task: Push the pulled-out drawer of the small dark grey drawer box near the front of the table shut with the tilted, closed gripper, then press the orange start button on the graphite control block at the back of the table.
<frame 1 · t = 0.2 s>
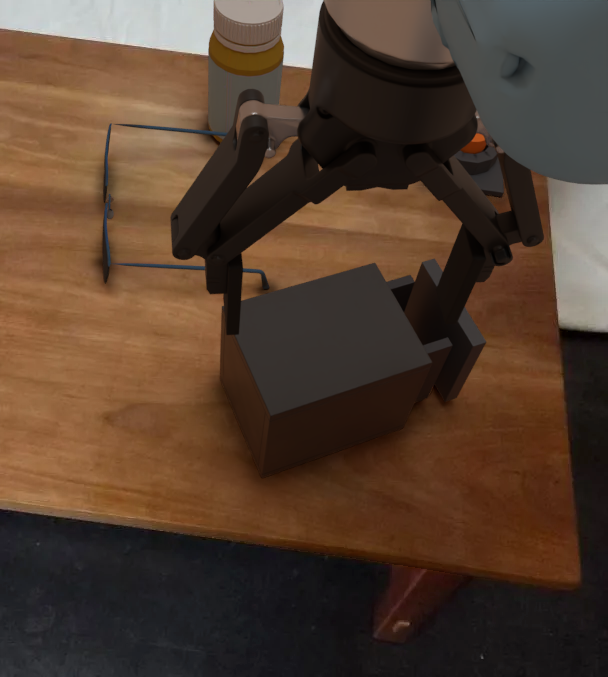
hand: (340, 311, 51), 18 cm above the table, tool pointing down, fingers open, 13 cm apart
sunglasses: (183, 221, 78), on the table
bottle: (242, 131, 85), on the table
dark grey drawer box: (310, 403, 68), on the table
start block: (462, 156, 86), on the table
start button: (470, 135, 84), point 3 cm above the table, slide at 0.1 cm
pulled-out drawer: (390, 347, 66), point 5 cm above the table, slide at 4.0 cm
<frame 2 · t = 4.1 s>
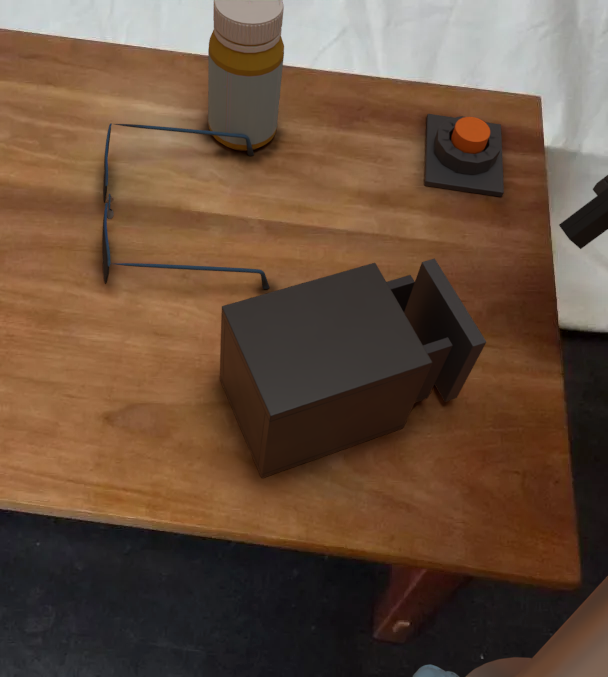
hand: (570, 237, 63), 14 cm above the table, tool tilted 45°, fingers closed
nothing on the table moved.
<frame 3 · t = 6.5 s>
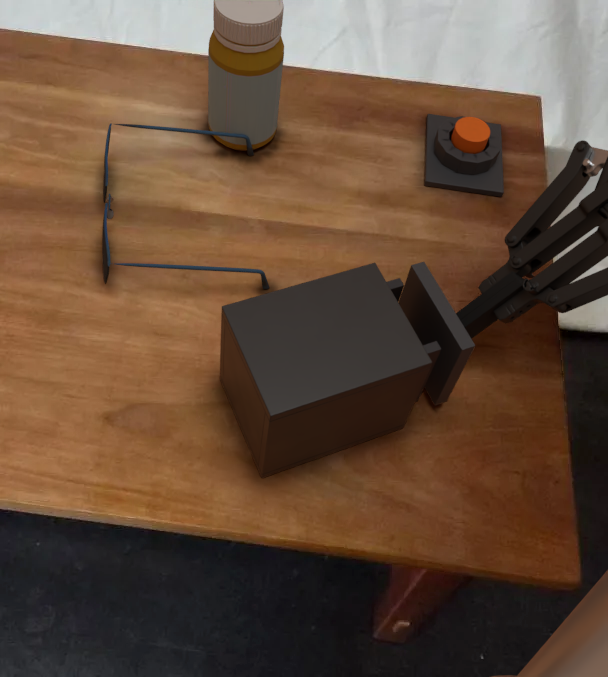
hand: (459, 329, 68), 5 cm above the table, tool tilted 45°, fingers closed
pulled-out drawer: (379, 351, 66), point 5 cm above the table, slide at 3.0 cm, touching gripper
everything else where it was.
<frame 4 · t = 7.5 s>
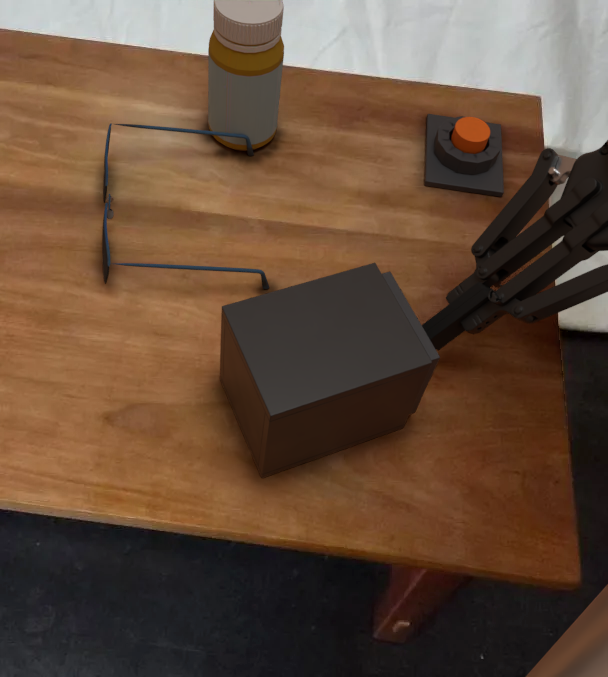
hand: (427, 340, 68), 5 cm above the table, tool tilted 45°, fingers closed
pulled-out drawer: (345, 362, 65), point 5 cm above the table, slide at 0.0 cm, touching dark grey drawer box, gripper
everything else where it was.
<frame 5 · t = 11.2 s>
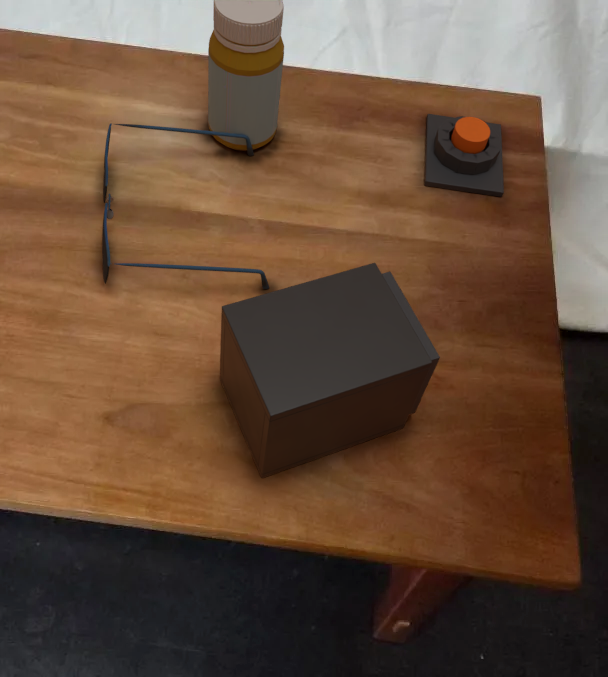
pulled-out drawer: (345, 362, 65), point 5 cm above the table, slide at 0.0 cm, touching dark grey drawer box
everything else where it was.
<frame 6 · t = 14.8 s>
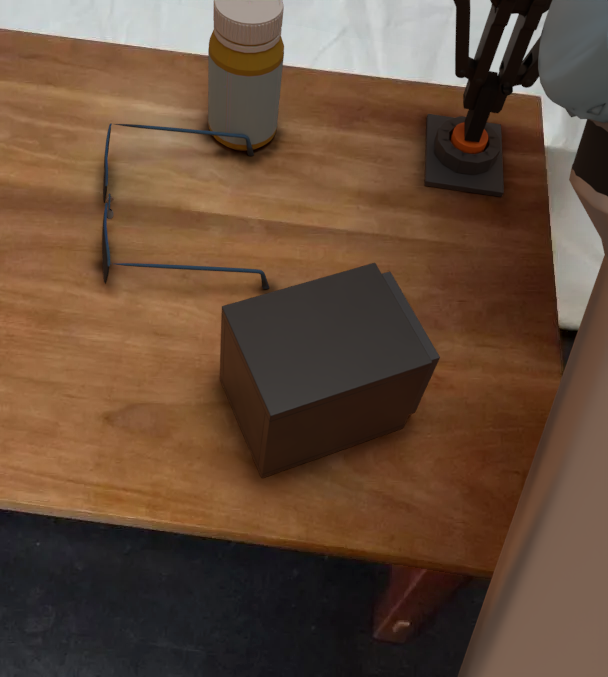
hand: (471, 131, 83), 3 cm above the table, tool pointing down, fingers closed
start button: (468, 140, 84), point 2 cm above the table, slide at -0.6 cm, touching gripper
everything else where it was.
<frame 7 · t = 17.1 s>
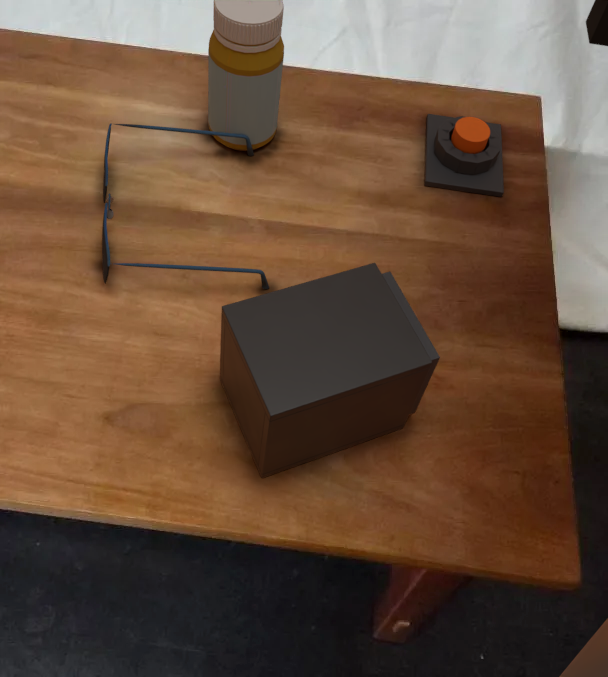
hand: (597, 33, 62), 22 cm above the table, tool pointing down, fingers closed
start button: (470, 135, 84), point 3 cm above the table, slide at 0.1 cm
everything else where it was.
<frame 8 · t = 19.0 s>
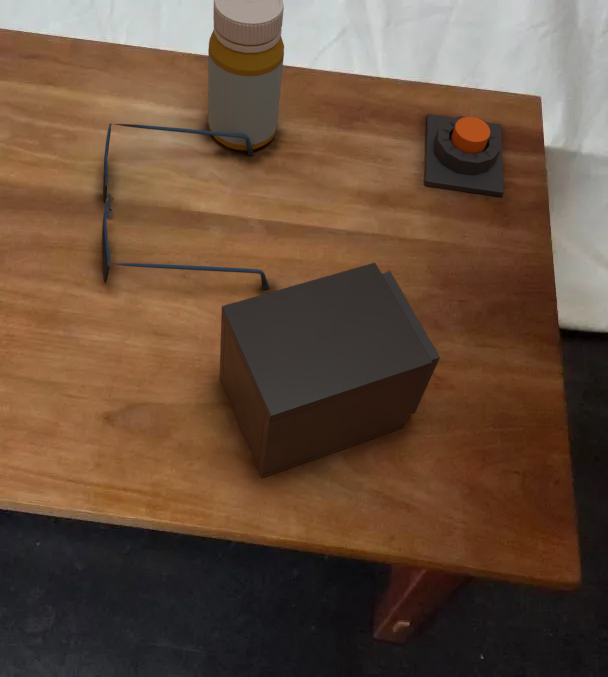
nothing on the table moved.
at the end: pulled-out drawer slide at 0.0 cm; start button pushed in 1.0 cm at the most during the clip, back to where it started at the end; start button slide at 0.1 cm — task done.
